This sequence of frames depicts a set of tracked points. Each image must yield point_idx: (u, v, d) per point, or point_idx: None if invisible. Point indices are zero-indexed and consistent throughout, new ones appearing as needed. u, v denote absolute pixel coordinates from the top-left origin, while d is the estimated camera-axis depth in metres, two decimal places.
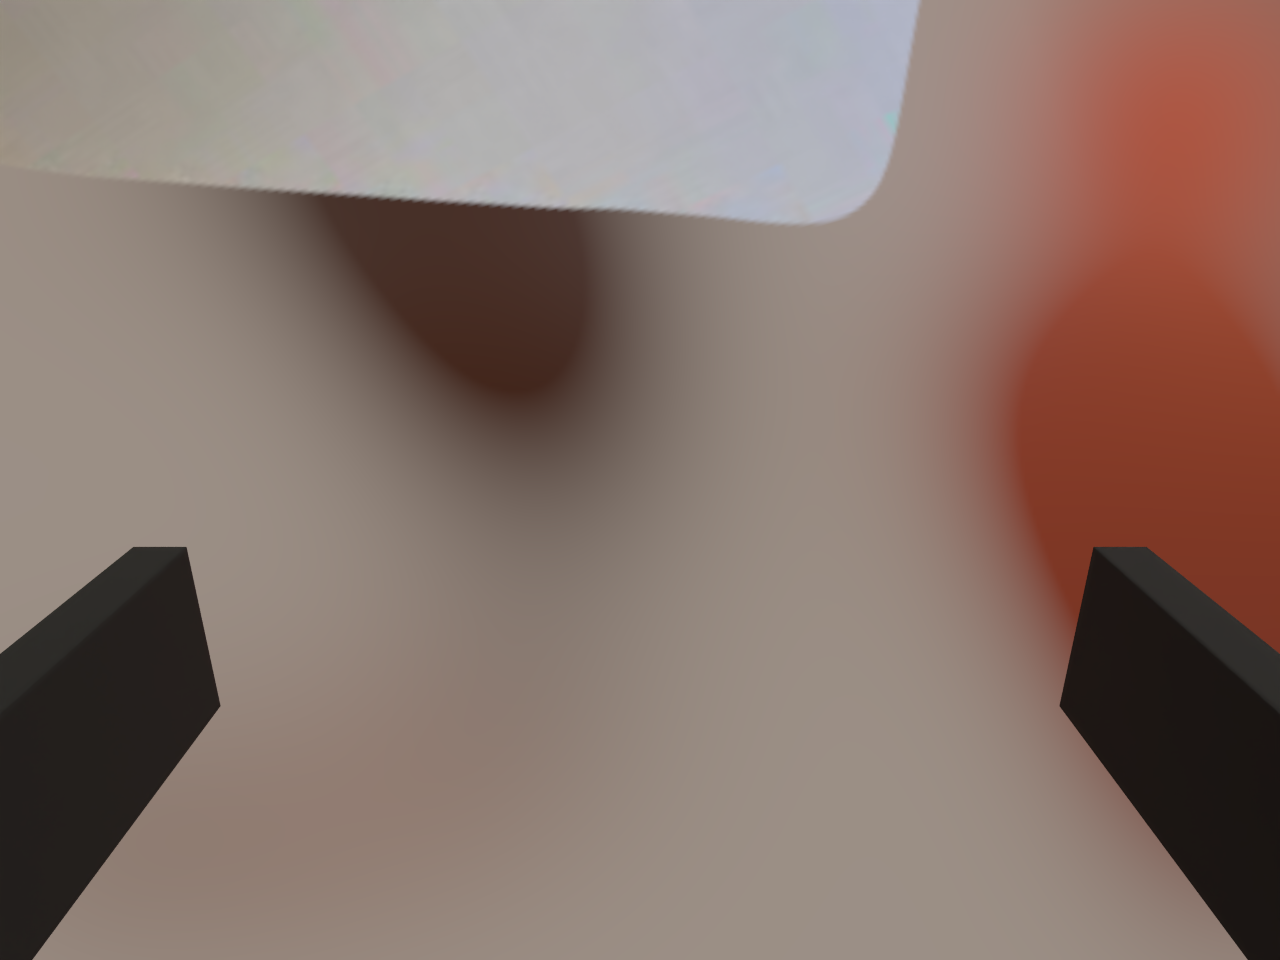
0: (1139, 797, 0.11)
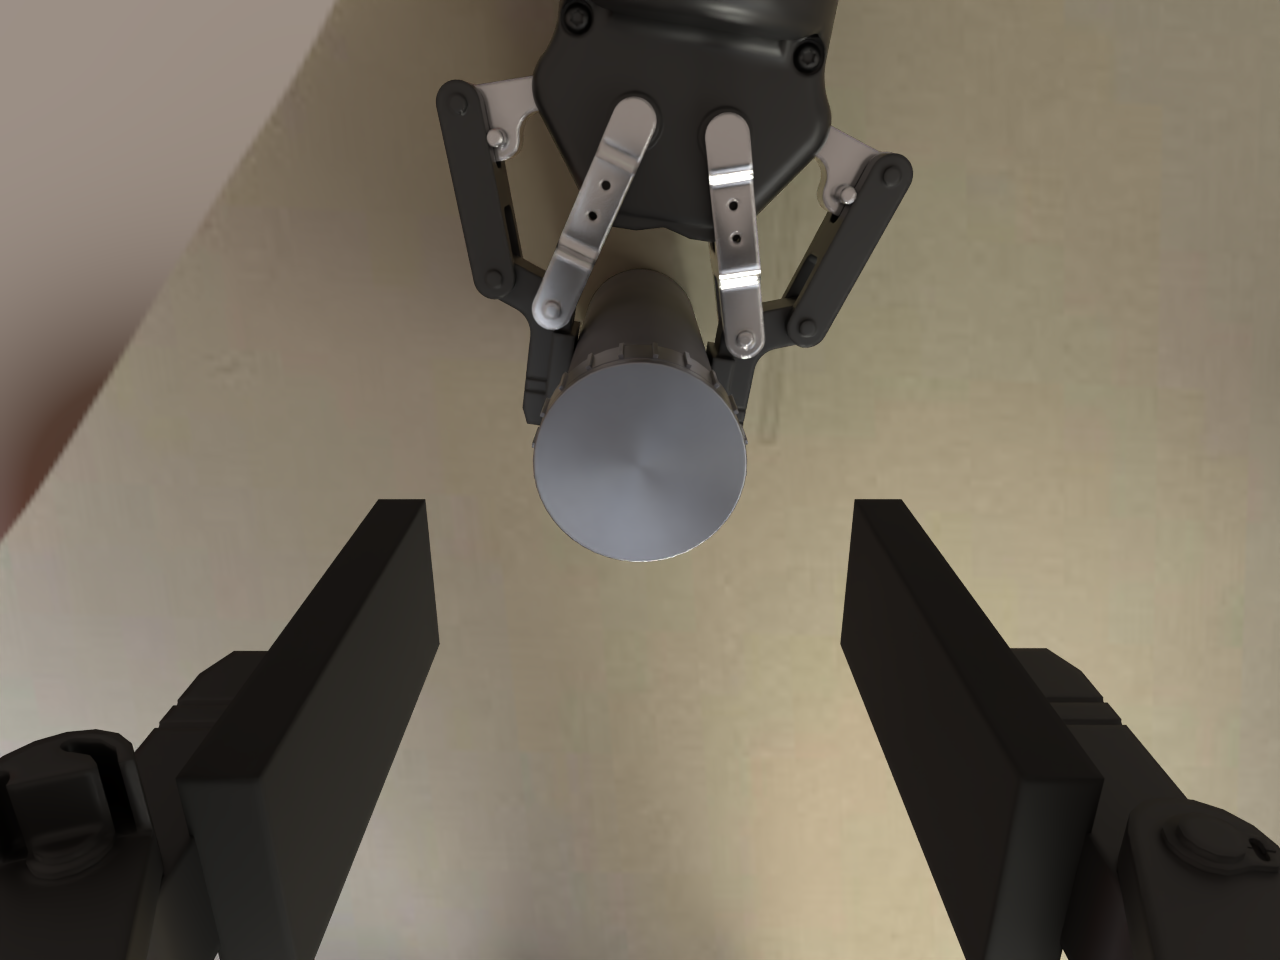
0: (873, 713, 0.13)
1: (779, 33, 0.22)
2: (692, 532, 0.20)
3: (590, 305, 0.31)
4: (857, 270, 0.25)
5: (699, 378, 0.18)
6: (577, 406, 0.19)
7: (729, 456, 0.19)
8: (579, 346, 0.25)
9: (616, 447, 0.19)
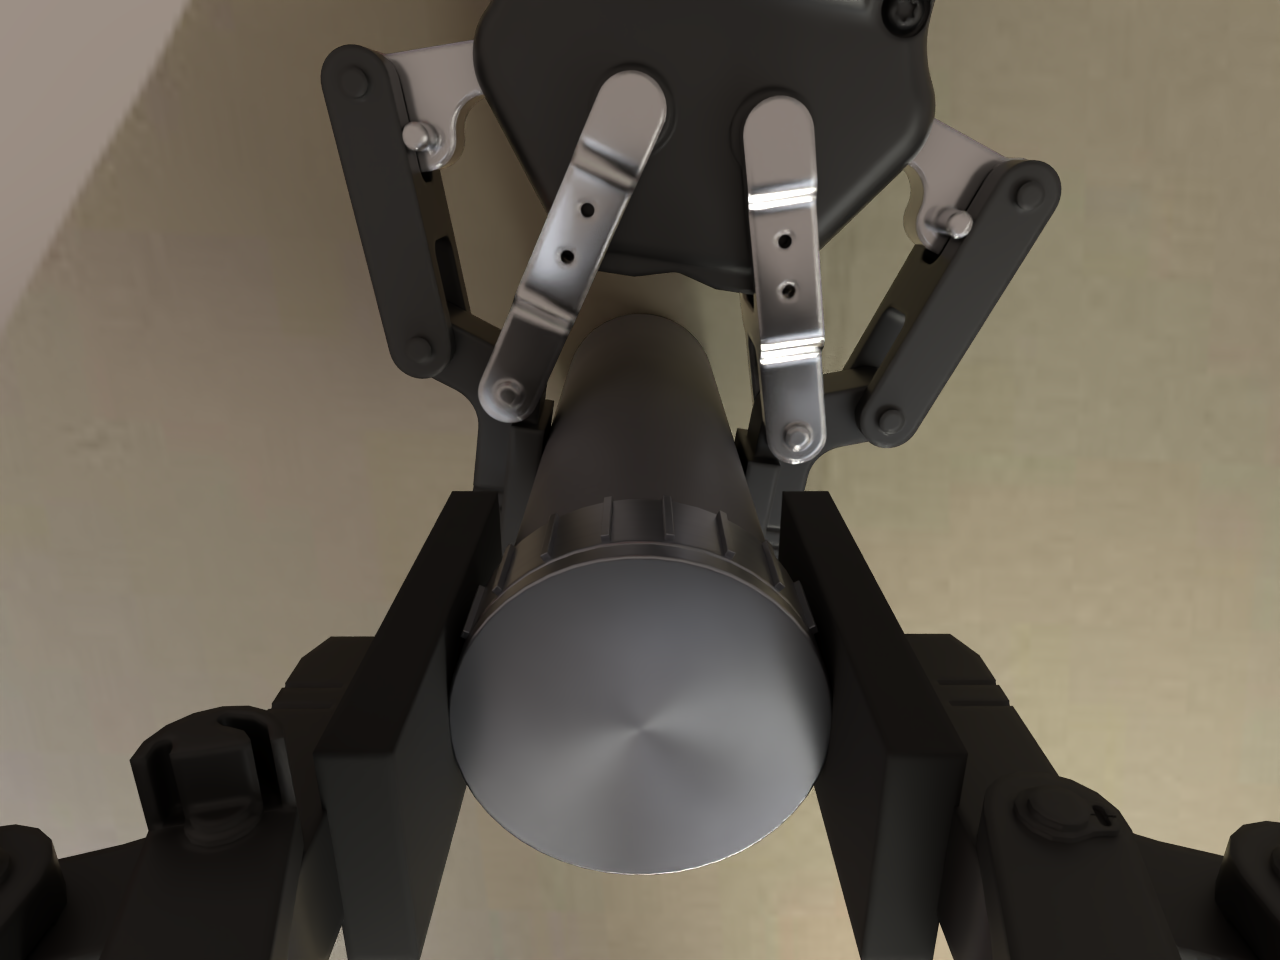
0: None
1: None
2: (733, 831, 0.11)
3: (572, 366, 0.23)
4: (968, 336, 0.17)
5: (751, 583, 0.10)
6: (525, 631, 0.10)
7: (802, 713, 0.10)
8: (547, 455, 0.16)
9: (597, 698, 0.10)
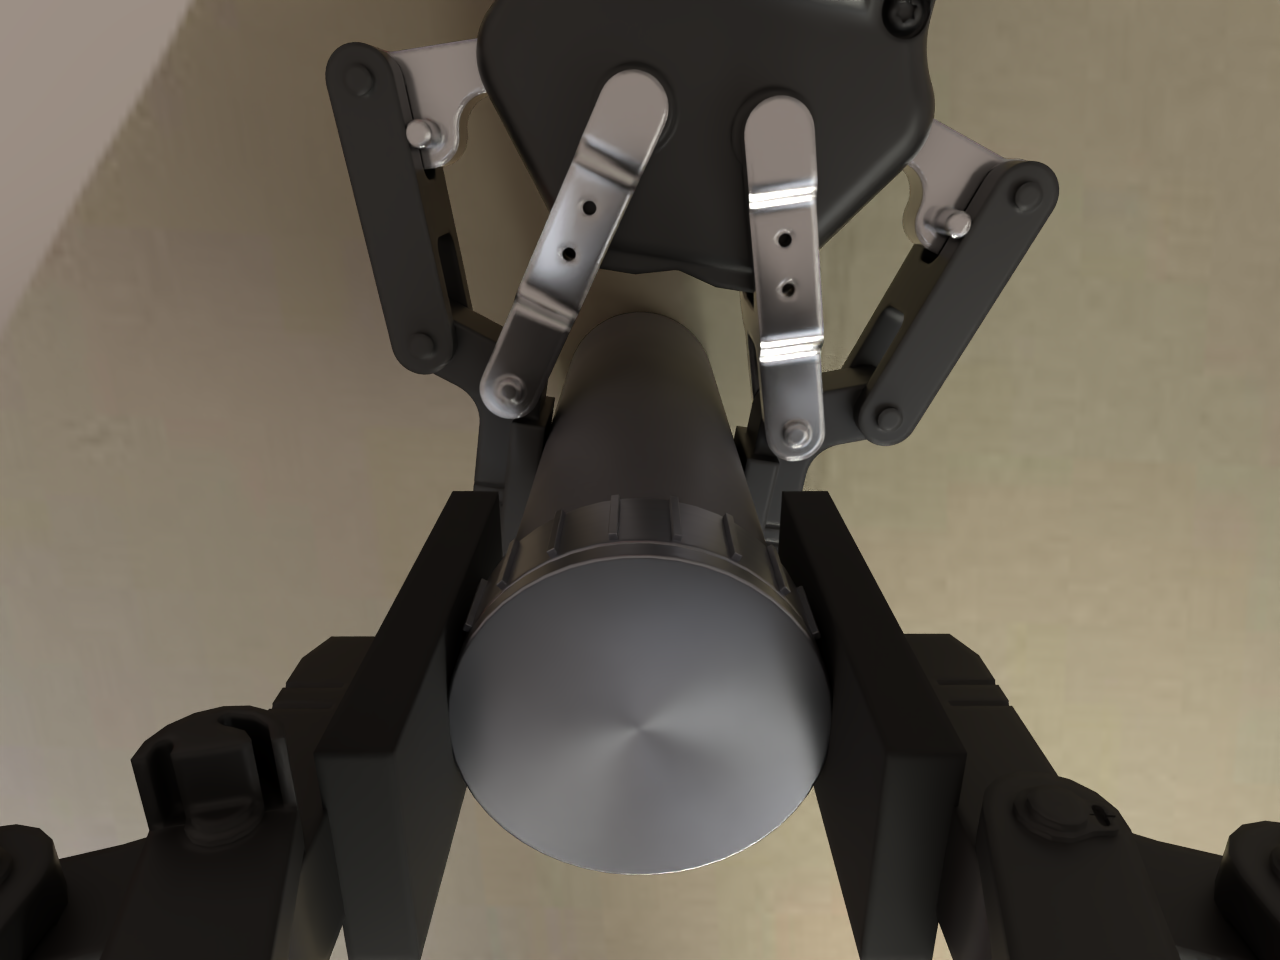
0: None
1: None
2: (745, 616, 0.10)
3: (572, 364, 0.23)
4: (966, 335, 0.17)
5: (451, 679, 0.10)
6: (564, 835, 0.11)
7: (572, 597, 0.10)
8: (548, 451, 0.16)
9: (616, 769, 0.11)
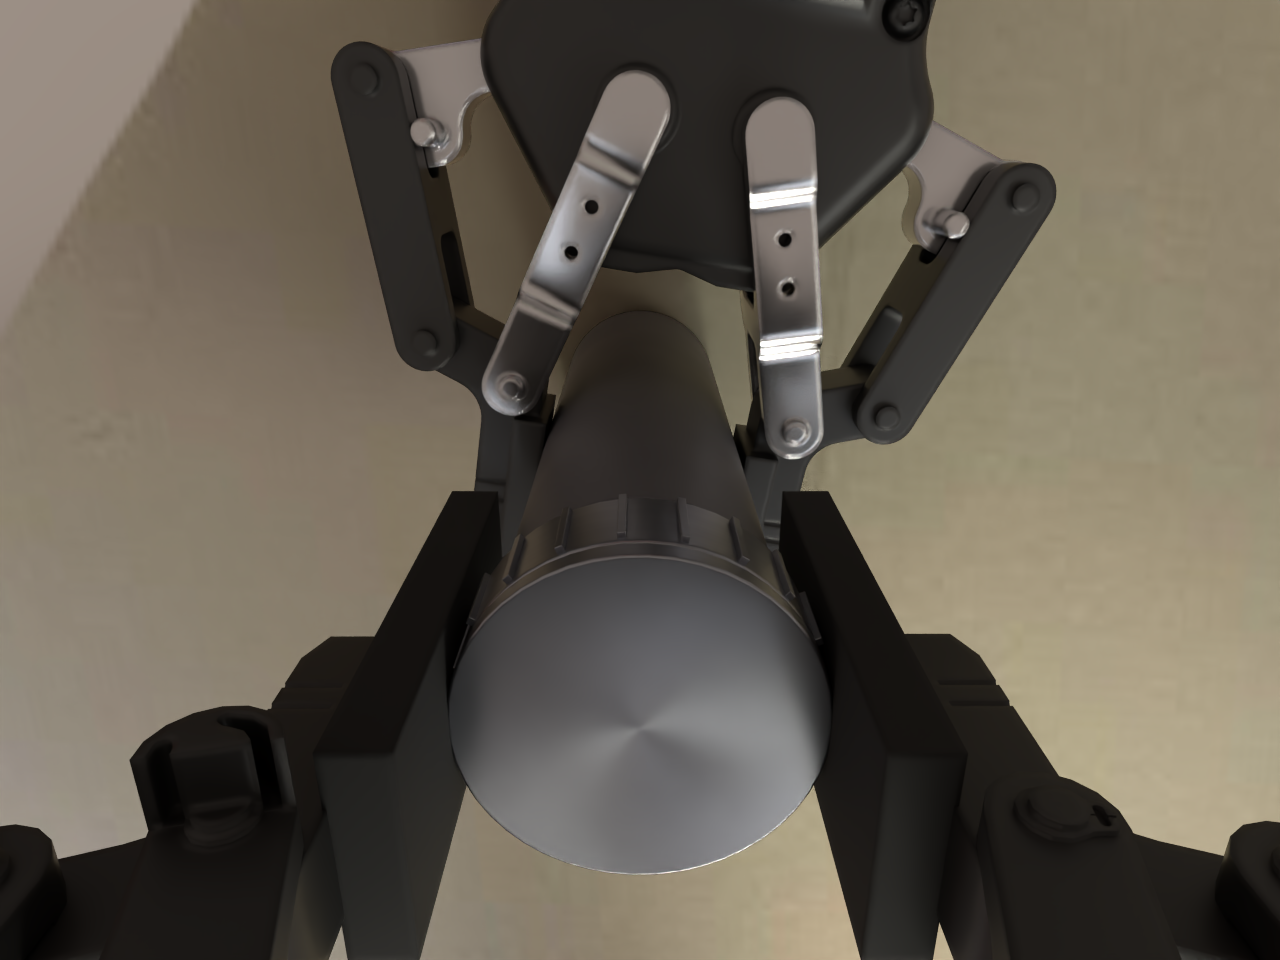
0: None
1: None
2: (484, 677, 0.10)
3: (573, 362, 0.23)
4: (963, 335, 0.17)
5: (636, 872, 0.11)
6: (790, 761, 0.11)
7: (518, 808, 0.11)
8: (549, 447, 0.16)
9: (695, 736, 0.11)
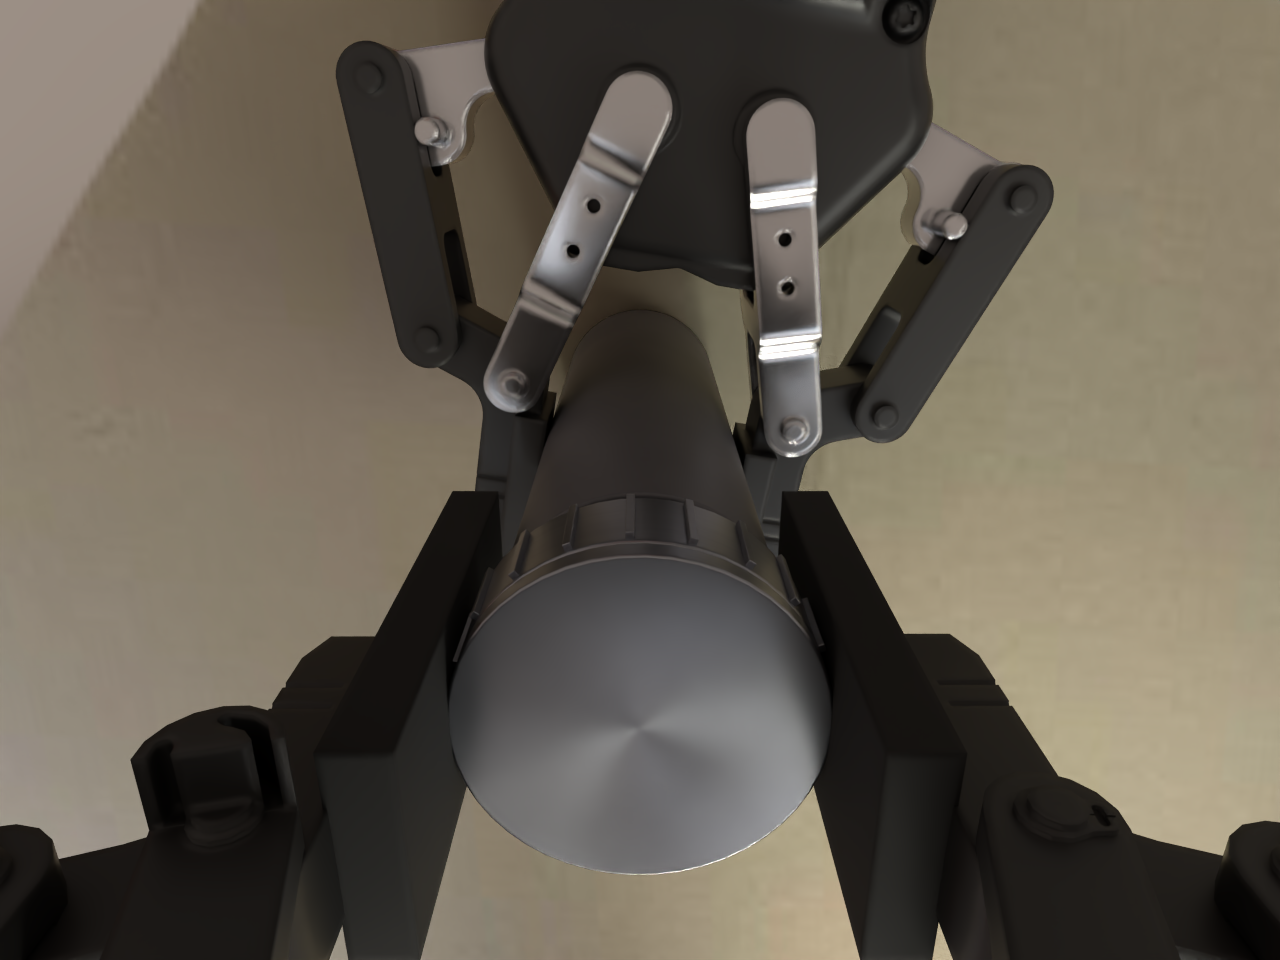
0: None
1: None
2: (623, 854, 0.11)
3: (573, 360, 0.23)
4: (961, 335, 0.17)
5: (830, 685, 0.10)
6: (636, 589, 0.10)
7: (766, 804, 0.11)
8: (550, 444, 0.17)
9: (634, 681, 0.10)
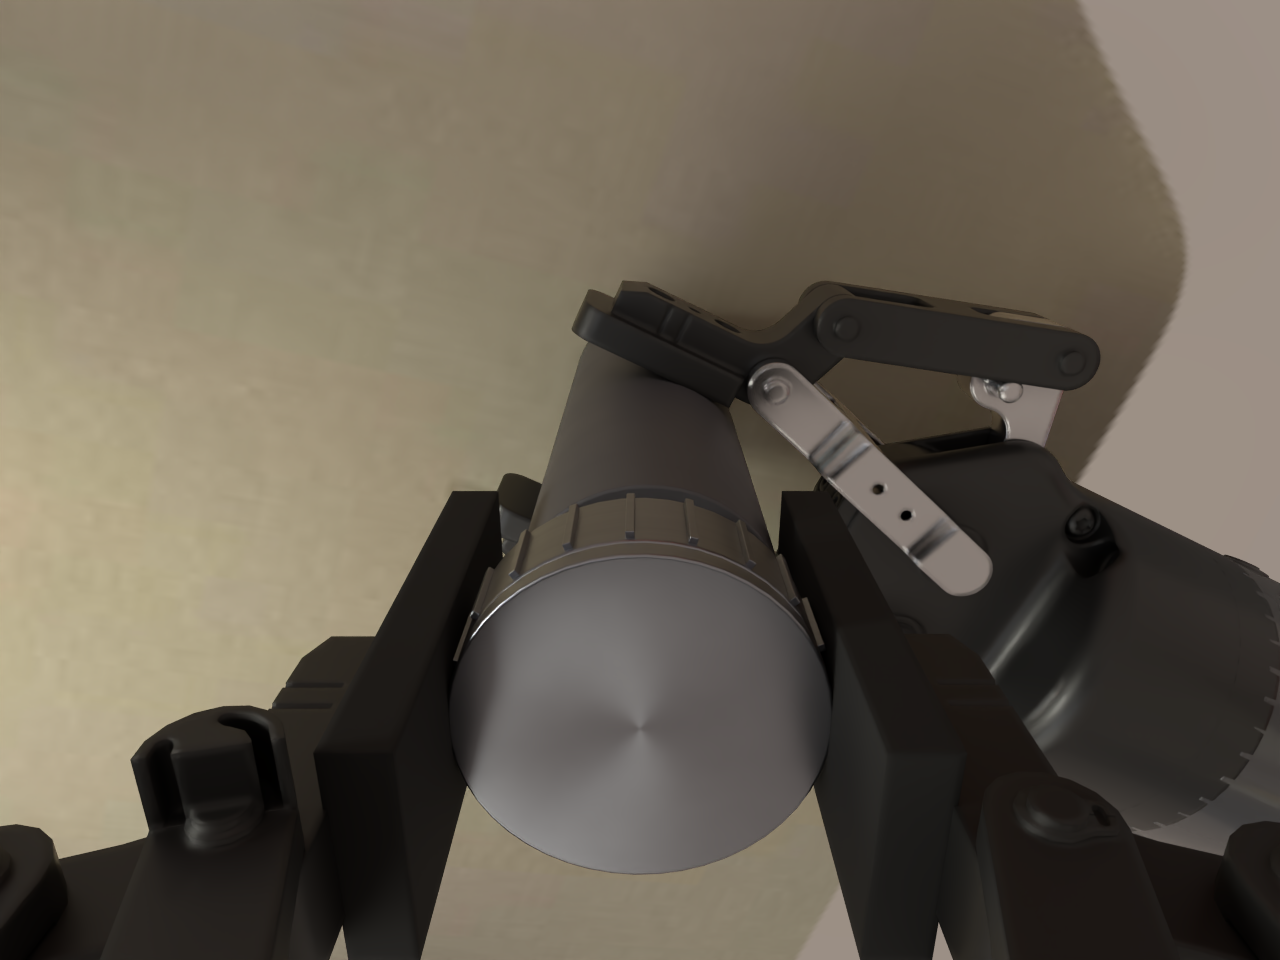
0: None
1: None
2: (623, 854, 0.11)
3: None
4: None
5: (830, 685, 0.10)
6: (637, 589, 0.10)
7: (766, 804, 0.11)
8: (732, 440, 0.17)
9: (634, 681, 0.10)
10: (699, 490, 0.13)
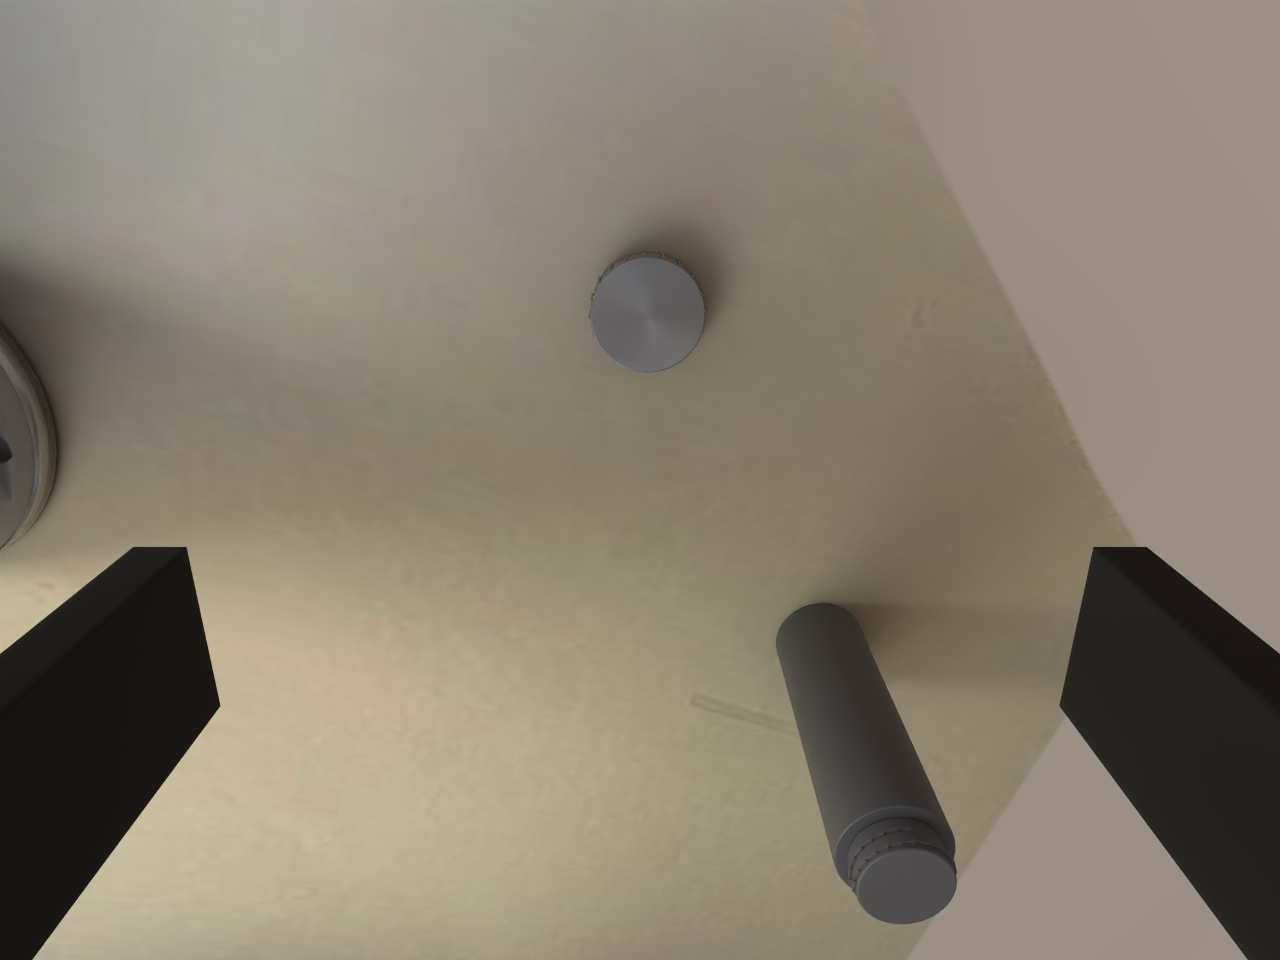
0: (1138, 797, 0.11)
1: None
2: (642, 363, 0.36)
3: (863, 640, 0.41)
4: None
5: (703, 301, 0.35)
6: (646, 268, 0.35)
7: (686, 344, 0.36)
8: (909, 740, 0.34)
9: (645, 299, 0.35)
10: (922, 806, 0.30)
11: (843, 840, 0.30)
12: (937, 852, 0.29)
